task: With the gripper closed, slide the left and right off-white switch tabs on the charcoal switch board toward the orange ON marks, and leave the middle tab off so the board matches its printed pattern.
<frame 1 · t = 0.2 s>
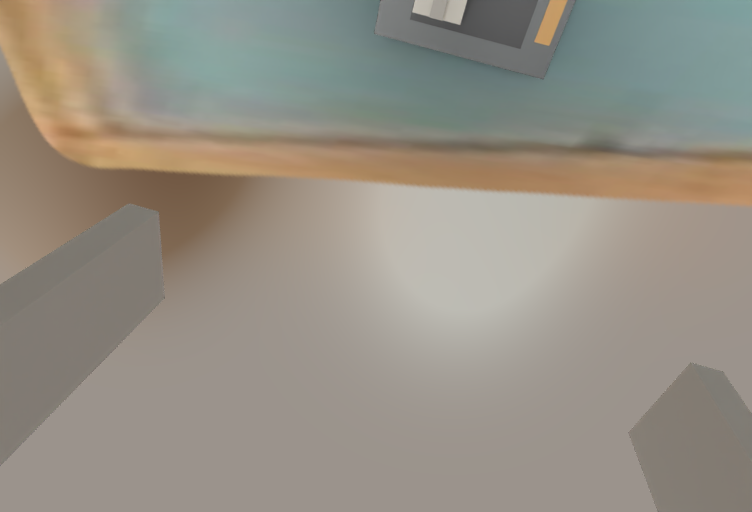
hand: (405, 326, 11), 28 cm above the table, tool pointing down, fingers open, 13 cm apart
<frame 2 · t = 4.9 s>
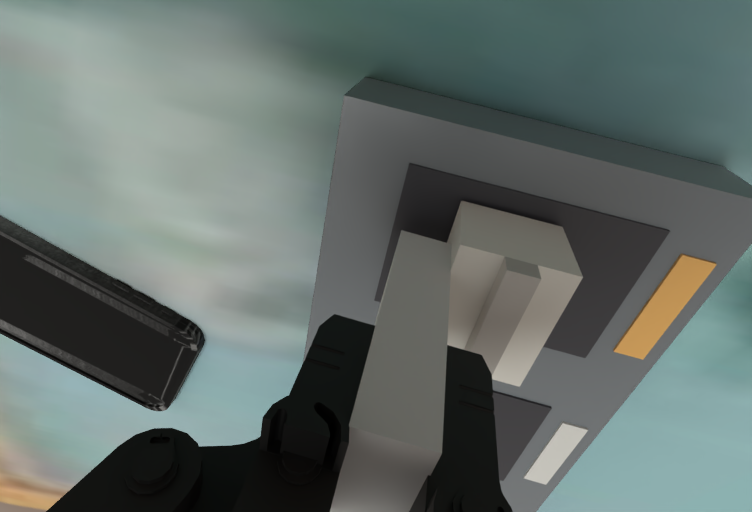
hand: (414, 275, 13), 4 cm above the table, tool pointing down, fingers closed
phone: (70, 298, 24), on the table
switch board: (440, 368, 21), on the table
switch tab 1: (490, 299, 12), point 5 cm above the table, slide at 1.5 cm, touching gripper
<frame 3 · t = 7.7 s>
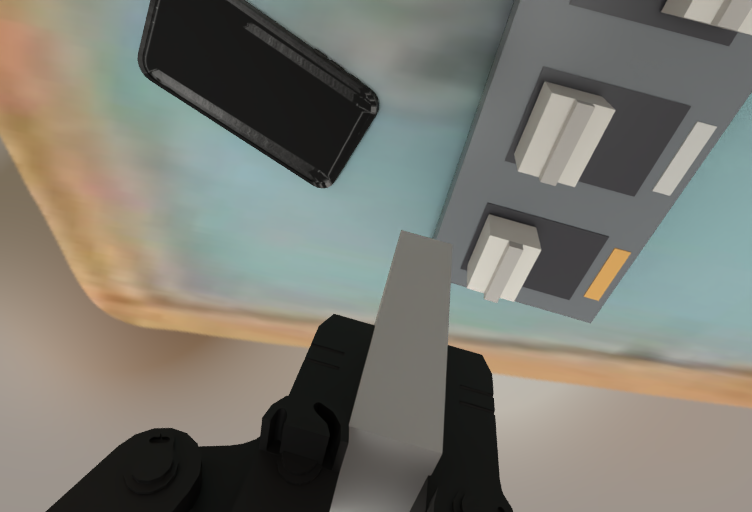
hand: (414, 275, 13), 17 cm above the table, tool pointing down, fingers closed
phone: (263, 80, 29), on the table
switch tab 3: (501, 260, 26), point 5 cm above the table, slide at 0.0 cm
switch board: (580, 119, 26), on the table
switch tab 2: (560, 136, 22), point 5 cm above the table, slide at 0.0 cm
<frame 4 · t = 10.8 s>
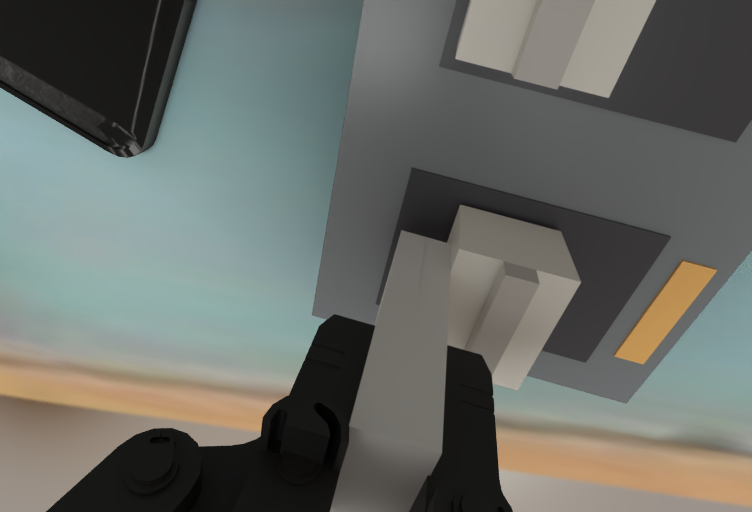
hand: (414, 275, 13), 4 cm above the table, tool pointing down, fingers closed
switch tab 3: (489, 303, 12), point 5 cm above the table, slide at 1.4 cm, touching gripper
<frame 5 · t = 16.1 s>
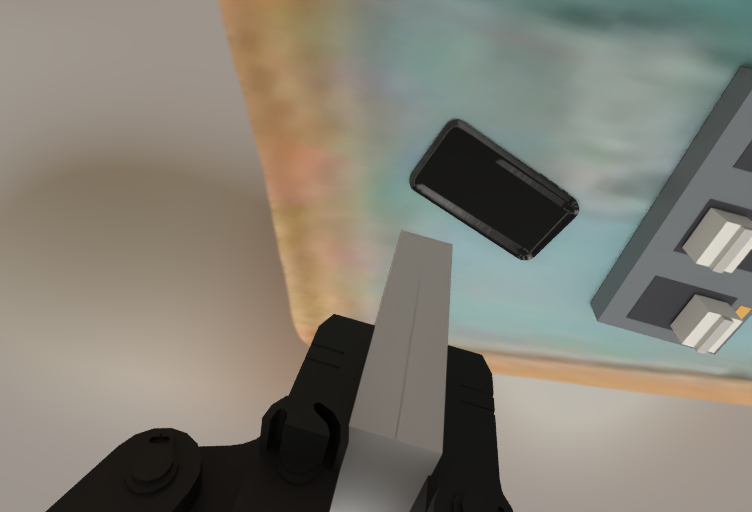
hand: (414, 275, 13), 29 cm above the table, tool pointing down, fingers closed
phone: (492, 190, 42), on the table
switch tab 3: (706, 325, 40), point 5 cm above the table, slide at 3.7 cm
switch board: (717, 221, 39), on the table
switch tab 2: (723, 242, 35), point 5 cm above the table, slide at 0.0 cm
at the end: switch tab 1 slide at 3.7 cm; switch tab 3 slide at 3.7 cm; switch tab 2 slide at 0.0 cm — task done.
